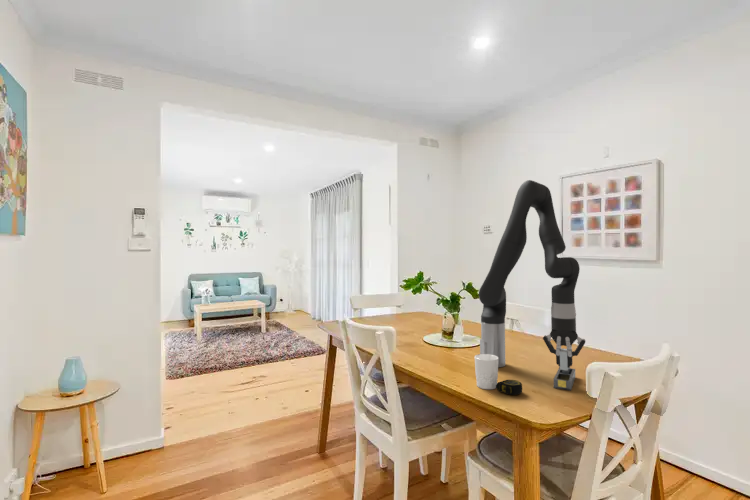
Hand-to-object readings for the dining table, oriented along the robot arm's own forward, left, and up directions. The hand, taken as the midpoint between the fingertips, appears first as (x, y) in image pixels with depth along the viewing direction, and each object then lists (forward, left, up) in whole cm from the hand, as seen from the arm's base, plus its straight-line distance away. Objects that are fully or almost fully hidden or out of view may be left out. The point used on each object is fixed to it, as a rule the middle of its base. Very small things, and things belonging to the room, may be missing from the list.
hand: (564, 366), depth 131 cm
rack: (+2, +3, -7) cm, 7 cm away
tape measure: (-21, -5, -7) cm, 23 cm away
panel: (0, 0, -1) cm, 1 cm away
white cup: (-26, +1, -7) cm, 27 cm away
